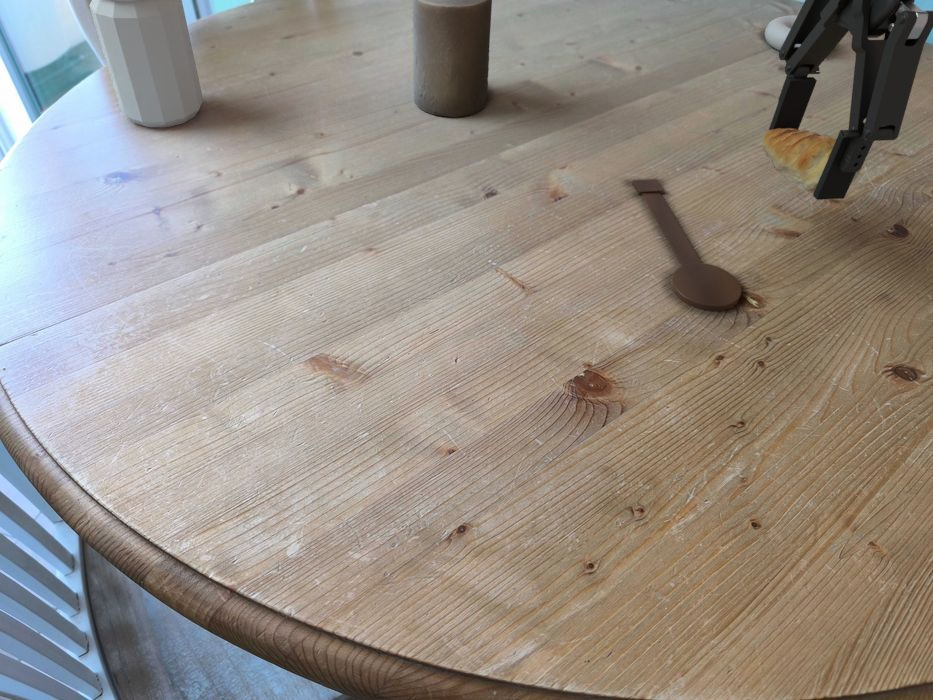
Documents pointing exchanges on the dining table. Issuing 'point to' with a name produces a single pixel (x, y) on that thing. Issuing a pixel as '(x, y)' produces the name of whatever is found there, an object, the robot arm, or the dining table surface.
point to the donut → (779, 31)
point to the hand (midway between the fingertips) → (802, 167)
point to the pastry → (799, 155)
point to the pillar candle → (451, 55)
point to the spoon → (689, 259)
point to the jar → (149, 59)
